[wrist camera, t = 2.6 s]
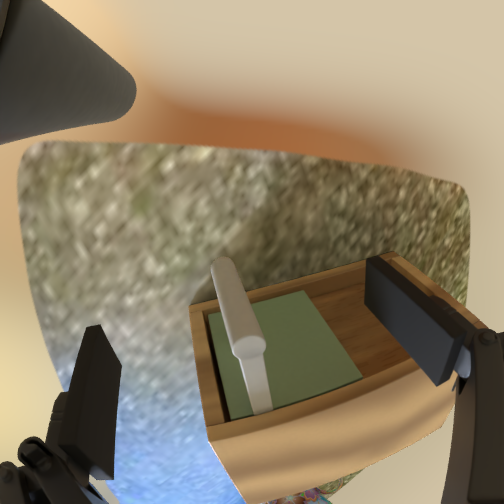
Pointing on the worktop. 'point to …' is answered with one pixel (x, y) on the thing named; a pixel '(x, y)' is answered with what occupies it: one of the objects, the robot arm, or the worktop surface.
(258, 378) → the sliding door
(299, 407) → the cupboard
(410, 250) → the worktop surface
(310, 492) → the mug
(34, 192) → the worktop surface
